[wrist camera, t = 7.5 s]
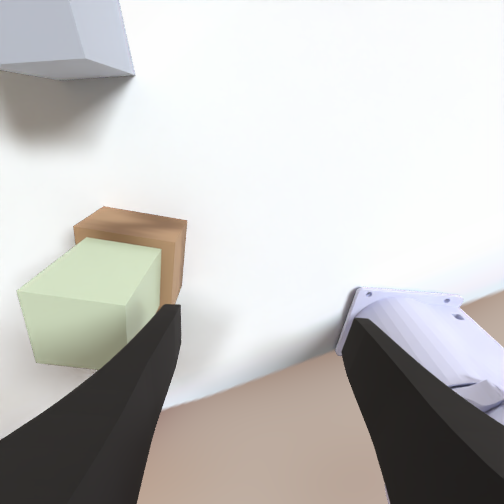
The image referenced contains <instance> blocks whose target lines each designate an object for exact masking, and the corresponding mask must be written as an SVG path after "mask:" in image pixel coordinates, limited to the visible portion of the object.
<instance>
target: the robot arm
mask: <svg viewBox="0 0 504 504" xmlns="http://www.w3.org/2000/svg"><path fill="white" fill-rule="evenodd" d="M368 292H370V293H369V294H367V293H368ZM445 299H446V300H445ZM462 302H463V298H462V297H461V296H460V295H454V294H442V293H430V292H418V291H406V290H394V289H382V288H370V287H360V288H358V289H357V291H356V293H355V296H354V299H353V301H352V304H351V307H350V310H349V313H348V315H347V318H346V321H345V324H344V327H343V329H342V332H341V335H340V338H339V341H338V343H337V346H336V349H335V352H336V354H337V355H338V356H342V357H343V361H344V366H345V370H346V373H347V377H348V379H349V382H350V385H351V387H352V390H353V393H354V395H355V398H356V400H357V403H358V405H359V408H360V410H361V413H362V415H363V418H364V421H365V423H366V425H367V428H368V431H369V433H370V436H371V439H372V442H373V444H374V447H375V451H376V454H377V458H378V461H379V465H380V468H381V471H382V475H383V478H384V482H385V491H386V496H387V500H388V504H504V348H503V347H502V346H501V345H500V344H499V343H498V342H497V341H496V340H495V339H493V338H492V337H491V336H490V335H489V334H488V333H487V332H486V331H484V329H482V328H481V327H480V326H479V325H478V324H477V323H476V322H475V321H474V320H473V319H471V318H470V317H469V316H468V315H467V314H466V313H465V312H464V311H463V310H462V309H461V308H459V307H460V306H461V304H462ZM180 345H181V305H175V304H164V305H163V306H162V307H161V308H160V309H159V310H158V312H157V313H156V314H155V315H154V316H153V317H152V318H151V320H150V321H149V322H148V323H147V324H146V325H145V326H144V327H143V328H142V329H141V330H140V331H139V332H138V333H137V334H136V335H135V337H134V338H133V339H132V340H131V341H130V342H129V343H128V344H127V345H126V346H124V347H123V348H122V349H121V350H120V351H119V352H118V353H117V354H116V355H115V356H114V357H113V358H112V359H111V360H109V361H108V362H107V363H106V364H105V365H104V366H103V367H102V368H100V369H99V370H98V371H97V372H96V373H94V374H93V375H92V376H91V377H90V378H88V379H87V380H86V381H85V382H83V383H82V384H81V385H80V386H78V387H77V388H76V389H74V390H73V391H72V392H70V393H69V394H68V395H66V396H65V397H64V398H62V399H61V400H60V401H58V402H57V403H55V404H54V405H53V406H51V407H50V408H48V409H47V410H46V411H44V412H43V413H41V414H40V415H38V416H37V417H35V418H34V419H32V420H30V421H29V422H27V423H26V424H24V425H23V426H21V427H20V428H18V429H17V430H15V431H14V432H12V433H11V434H9V435H8V436H6V437H4V438H3V439H1V440H0V504H137V500H138V495H139V491H140V487H141V483H142V478H143V474H144V470H145V466H146V462H147V458H148V454H149V449H150V445H151V441H152V438H153V434H154V431H155V427H156V424H157V421H158V418H159V415H160V412H161V409H162V406H163V403H164V400H165V397H166V395H167V392H168V389H169V386H170V383H171V380H172V377H173V374H174V371H175V368H176V364H177V359H178V355H179V350H180Z"/></svg>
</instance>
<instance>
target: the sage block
mask: <svg viewBox="0 0 504 504" xmlns="http://www.w3.org/2000/svg"><path fill="white" fill-rule="evenodd" d="M160 277H161V249H159V248H152V247H146V246H140V245H133V244H127V243H120V242H114V241H108V240H101V239H95V238H88V237H86V238H85V239H83V240H82V241H81V242H79V243H78V244H77V245H76V246H74V247H73V248H72V249H70V250H69V251H68V252H66V253H65V254H64V255H63V256H61V257H60V258H59V259H57V260H56V261H55V262H53V263H52V264H51V265H50V266H48V267H47V268H46V269H44V270H43V271H42V272H40V273H39V274H38V275H37V276H35V277H34V278H33V279H31V280H30V281H29V282H27V283H26V284H25V285H24V286H22V287H21V288H20V289H18V290H17V295H18V298H19V302H20V306H21V309H22V313H23V317H24V320H25V324H26V328H27V331H28V335H29V339H30V342H31V346H32V350H33V353H34V357H35V361H36V363H41V364H50V365H59V366H68V367H77V368H86V369H95V370H99V369H100V368H102V367H103V366H104V365H105V364H106V363H107V362H108V361H109V360H111V359H112V358H113V357H114V356H115V355H116V354H117V353H118V352H119V351H120V350H121V349H122V348H123V347H124V346H126V345H127V344H128V343H129V342H130V341H131V340H132V339H133V338H134V337H135V335H136V334H137V333H138V332H139V331H140V330H141V329H142V328H143V327H144V326H145V325H146V324H147V323H148V322H149V321H150V320H151V318H152V317H153V316H154V315H155V314H156V312H157V310H158V307H159V305H160Z"/></svg>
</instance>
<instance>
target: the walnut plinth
mask: <svg viewBox="0 0 504 504" xmlns="http://www.w3.org/2000/svg"><path fill="white" fill-rule="evenodd" d="M73 227H74V235H75V243H76V245H77V244H78V243H79V242H81V241H82V240H83V239H85V238H86V237H88V238H95V239H101V240H108V241H114V242H120V243H127V244H133V245H140V246H146V247H152V248H159V249H161V277H160V305H159V307H158V310H159V309H160V308H161V307H162V306H163V305H164V304H175V303H176V300H177V297H178V295H179V292H180V289H181V286H182V276H183V265H184V253H185V241H186V229H187V220H181V219H175V218H170V217H164V216H158V215H152V214H146V213H140V212H134V211H128V210H122V209H116V208H111V207H105V206H103V207H102V208H100V209H99V210H97V211H96V212H94V213H93V214H91V215H90V216H88V217H87V218H85V219H84V220H82V221H81V222H79V223H78V224H76V225H75V226H73ZM158 310H157V312H158ZM157 312H156V313H157Z"/></svg>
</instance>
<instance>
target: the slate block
mask: <svg viewBox="0 0 504 504" xmlns="http://www.w3.org/2000/svg"><path fill="white" fill-rule="evenodd" d="M0 70H2V71H8V72H14V73H20V74H25V75H31V76H37V77H43V78H48V79H54V80H73V79H88V78H102V77H117V76H131V75H135V71H134V66H133V62H132V57H131V53H130V48H129V44H128V39H127V35H126V30H125V26H124V21H123V17H122V12H121V7H120V3H119V0H0Z"/></svg>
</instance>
